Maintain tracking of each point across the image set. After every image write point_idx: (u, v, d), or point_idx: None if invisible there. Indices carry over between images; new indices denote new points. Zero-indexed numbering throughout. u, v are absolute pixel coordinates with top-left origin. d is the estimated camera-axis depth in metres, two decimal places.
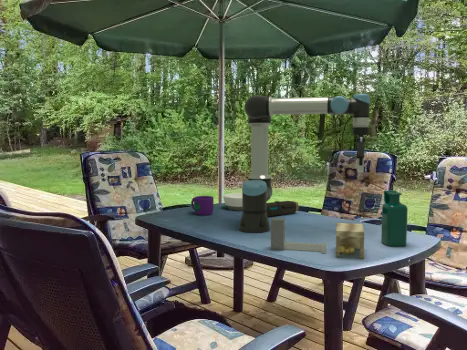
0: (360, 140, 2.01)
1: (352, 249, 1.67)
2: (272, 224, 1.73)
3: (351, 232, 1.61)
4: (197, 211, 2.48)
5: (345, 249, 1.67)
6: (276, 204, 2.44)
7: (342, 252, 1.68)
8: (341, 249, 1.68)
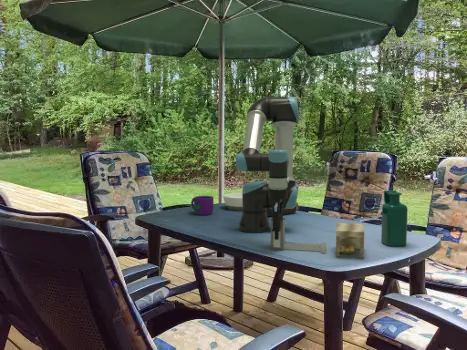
0: (274, 210, 1.69)
1: (354, 248, 1.68)
2: (272, 224, 1.73)
3: (351, 232, 1.61)
4: (197, 211, 2.48)
5: (348, 248, 1.67)
6: None
7: (345, 251, 1.67)
8: (344, 249, 1.67)
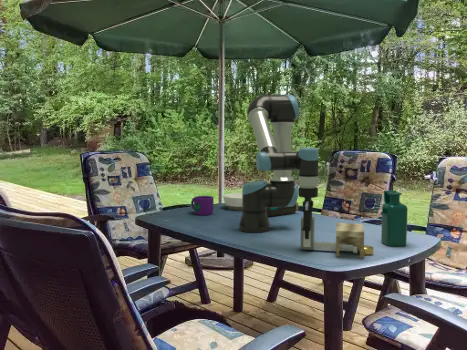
0: (305, 209, 1.66)
1: None
2: (302, 223, 1.70)
3: (351, 232, 1.61)
4: (197, 211, 2.48)
5: (370, 250, 1.65)
6: None
7: (367, 253, 1.65)
8: (365, 250, 1.65)
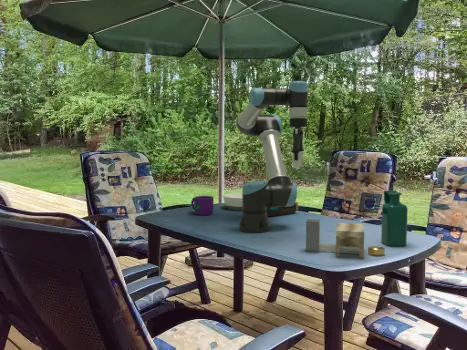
0: (295, 132, 1.81)
1: None
2: (307, 226, 1.70)
3: (351, 232, 1.61)
4: (197, 211, 2.48)
5: (382, 250, 1.64)
6: None
7: (379, 254, 1.64)
8: (378, 251, 1.64)
